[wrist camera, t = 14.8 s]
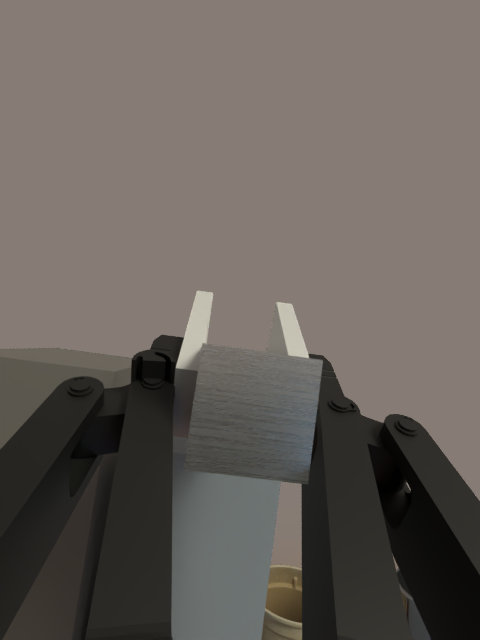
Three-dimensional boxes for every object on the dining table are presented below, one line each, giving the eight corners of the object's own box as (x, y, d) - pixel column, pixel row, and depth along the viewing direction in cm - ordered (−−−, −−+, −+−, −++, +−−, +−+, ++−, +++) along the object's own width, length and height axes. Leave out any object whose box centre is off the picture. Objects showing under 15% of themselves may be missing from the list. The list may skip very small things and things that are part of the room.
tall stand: (-181, 982, 18) (-55, 349, 20) (-3, 690, 33) (57, 348, 35) (16, 983, 18) (115, 371, 21) (102, 697, 33) (154, 361, 36)
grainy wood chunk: (96, 459, 9) (118, 330, 9) (178, 377, 32) (184, 341, 32) (387, 493, 9) (400, 371, 9) (260, 388, 32) (265, 353, 32)
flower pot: (230, 642, 41) (241, 561, 42) (311, 644, 43) (320, 565, 43) (245, 729, 32) (258, 623, 33) (347, 728, 33) (358, 626, 34)
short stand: (57, 984, 18) (140, 449, 21) (125, 698, 33) (168, 405, 35) (218, 985, 19) (282, 465, 21) (214, 704, 34) (251, 416, 36)
